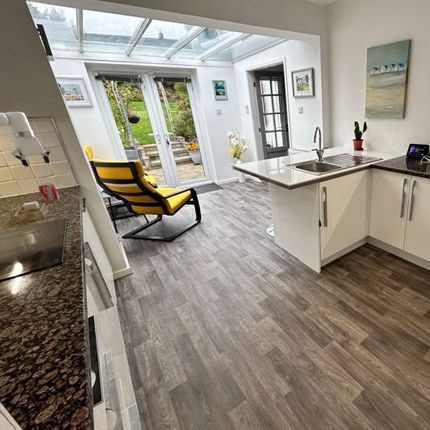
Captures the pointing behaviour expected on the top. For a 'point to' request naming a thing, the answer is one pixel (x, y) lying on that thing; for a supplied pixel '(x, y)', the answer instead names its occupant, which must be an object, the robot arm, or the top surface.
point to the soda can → (48, 192)
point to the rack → (31, 214)
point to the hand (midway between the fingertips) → (37, 164)
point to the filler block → (30, 205)
